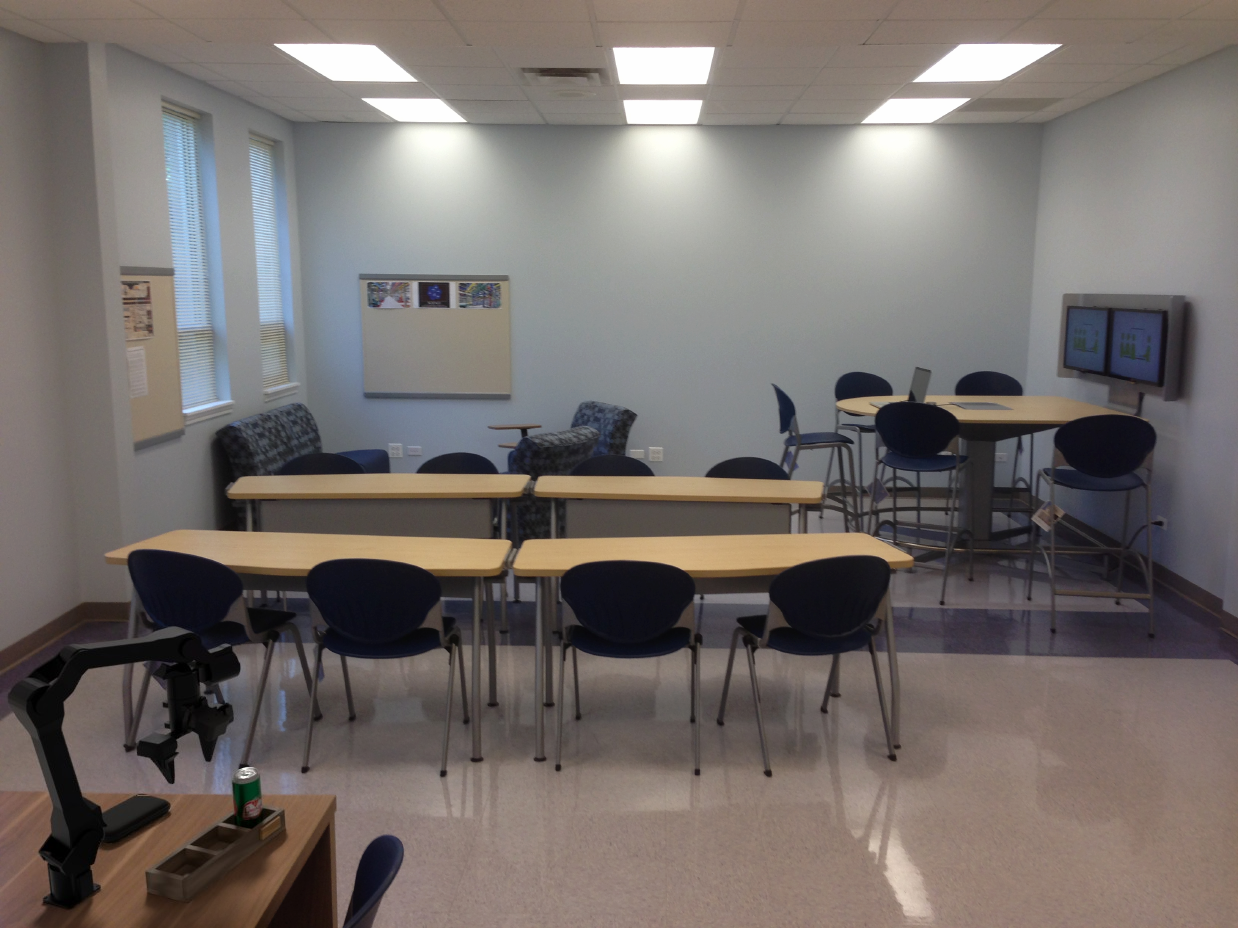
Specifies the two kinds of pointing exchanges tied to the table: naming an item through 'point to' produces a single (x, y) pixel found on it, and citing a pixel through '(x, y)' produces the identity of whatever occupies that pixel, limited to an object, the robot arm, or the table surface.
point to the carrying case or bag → (132, 816)
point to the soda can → (247, 798)
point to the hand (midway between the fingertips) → (190, 772)
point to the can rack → (211, 855)
